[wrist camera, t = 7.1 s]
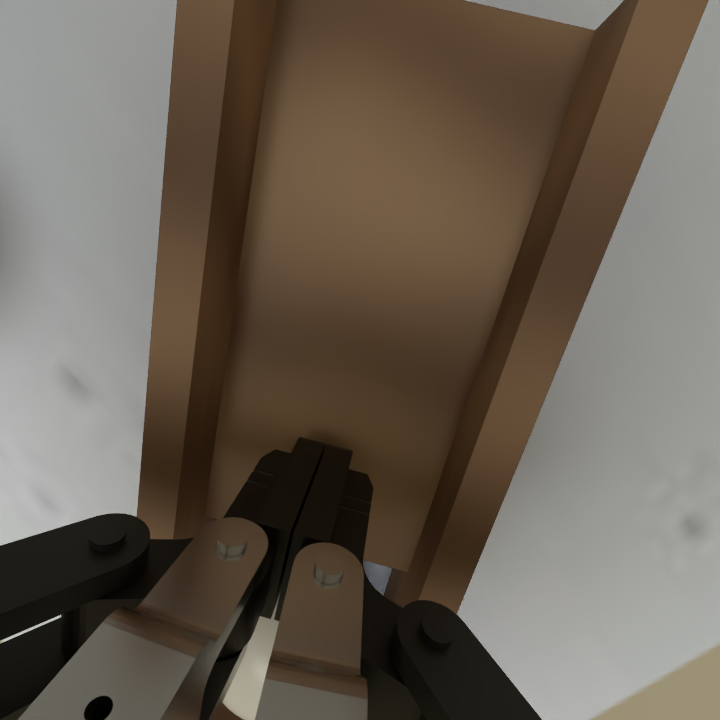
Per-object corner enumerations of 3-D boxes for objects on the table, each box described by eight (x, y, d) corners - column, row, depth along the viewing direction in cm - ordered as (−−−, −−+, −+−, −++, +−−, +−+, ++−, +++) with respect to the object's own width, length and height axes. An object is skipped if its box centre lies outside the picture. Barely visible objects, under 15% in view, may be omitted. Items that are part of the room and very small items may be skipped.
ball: (162, 747, 12) (221, 624, 17) (325, 790, 12) (339, 654, 17) (195, 597, 12) (247, 512, 16) (367, 642, 12) (370, 544, 16)
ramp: (271, 4, 11) (186, -127, 7) (596, 79, 11) (712, -9, 7) (186, 626, 18) (118, 746, 14) (380, 682, 18) (371, 822, 14)
